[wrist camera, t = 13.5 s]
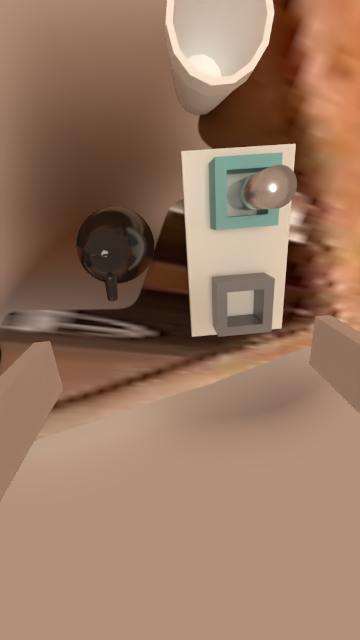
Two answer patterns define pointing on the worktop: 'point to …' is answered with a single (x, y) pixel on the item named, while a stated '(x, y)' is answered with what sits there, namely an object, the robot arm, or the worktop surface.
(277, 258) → the mount board
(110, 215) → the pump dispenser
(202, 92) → the foam cup
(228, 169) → the socket
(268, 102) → the worktop surface
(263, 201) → the lock pin
